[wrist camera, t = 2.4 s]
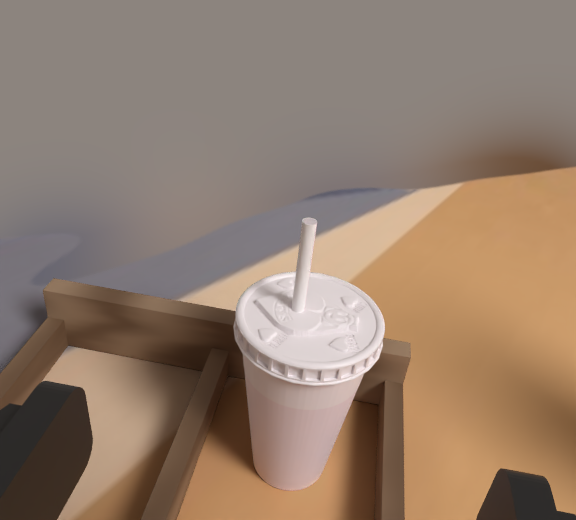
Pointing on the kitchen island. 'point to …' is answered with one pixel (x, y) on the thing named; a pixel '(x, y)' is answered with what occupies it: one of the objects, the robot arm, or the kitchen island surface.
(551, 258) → the kitchen island surface
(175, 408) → the kitchen island surface
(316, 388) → the smoothie
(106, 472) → the kitchen island surface
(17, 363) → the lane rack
